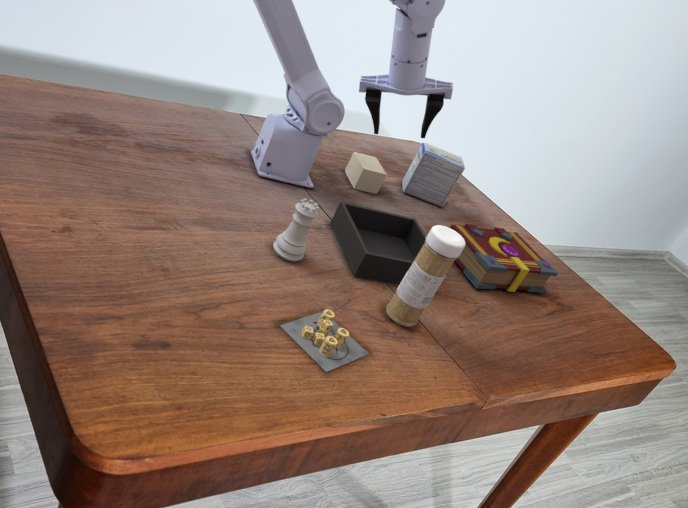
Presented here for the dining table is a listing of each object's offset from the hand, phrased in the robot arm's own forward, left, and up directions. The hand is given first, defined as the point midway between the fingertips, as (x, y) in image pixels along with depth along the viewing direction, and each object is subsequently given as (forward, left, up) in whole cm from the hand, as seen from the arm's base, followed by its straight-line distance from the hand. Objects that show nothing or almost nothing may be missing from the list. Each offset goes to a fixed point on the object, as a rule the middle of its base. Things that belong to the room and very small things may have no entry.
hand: (399, 133), depth 118 cm
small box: (-2, 0, -11) cm, 11 cm away
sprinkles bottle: (-8, -37, -11) cm, 39 cm away
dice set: (-21, -44, -11) cm, 50 cm away
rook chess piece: (-22, -27, -11) cm, 36 cm away
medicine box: (+11, +1, -11) cm, 15 cm away
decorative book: (+16, -20, -11) cm, 27 cm away
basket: (-6, -23, -11) cm, 26 cm away
